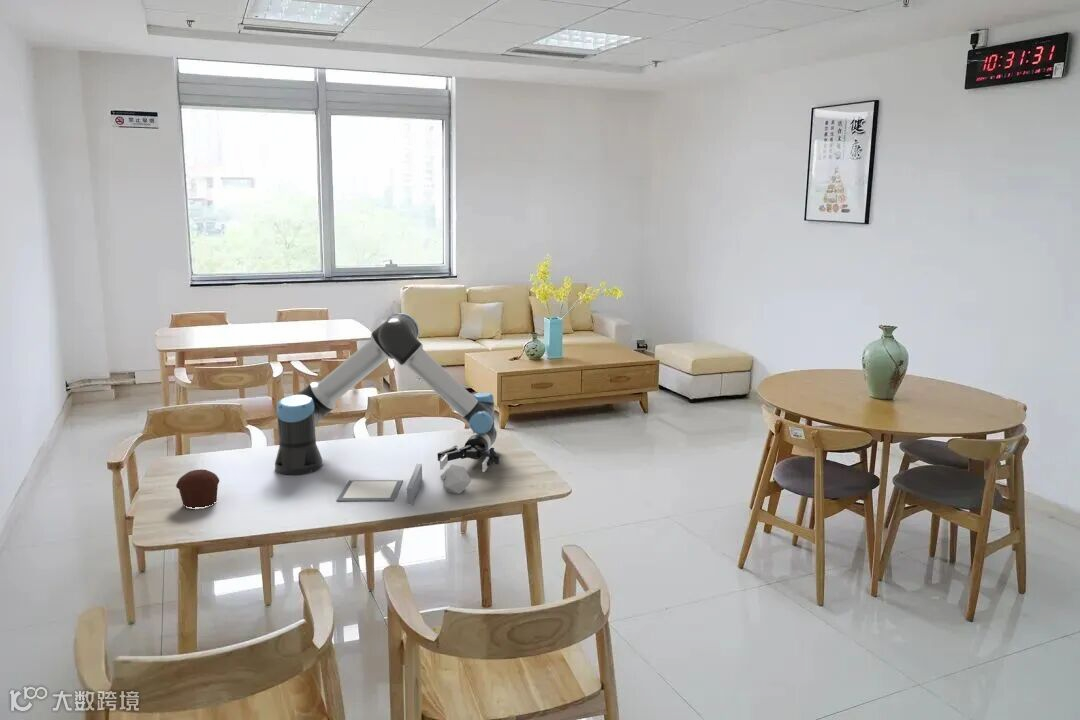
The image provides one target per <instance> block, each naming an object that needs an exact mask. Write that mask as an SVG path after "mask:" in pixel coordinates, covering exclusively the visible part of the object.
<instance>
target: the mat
mask: <svg viewBox="0 0 1080 720" xmlns="http://www.w3.org/2000/svg"><path fill="white" fill-rule="evenodd" d="M403 482H404V480H402V479H397V480H396V479H390V480H389V479H386V480H385V479H378V480H377V479H376V480H375V479H371V480H370V479H366V480H365V479H364V480H363V479H362V480H359V479H358V480H355V479H353V480H352V479H349V480H348V481H347V483H346V485H345V486H344V487H343V489H342V491H341V492H340V494H339V496H337V498H336V500H335V501H336V502H338V503H339V502H341V503H342V502H343V503H346V502H354V503H355V502H356V503H357V502H361V503H362V502H371V503H372V502H374V503H375V502H395V500H396V498H397V496H398V494H399V491H400V489H401V487H402V484H403Z"/></svg>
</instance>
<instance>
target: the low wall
mask: <svg viewBox="0 0 1080 720" xmlns="http://www.w3.org/2000/svg"><path fill="white" fill-rule="evenodd" d="M422 481H423V464H422V463H416V465H415V467H414V470H413V471H412V475H411V477H410V479H409V481H408V484H407V487H406V505H408V506H409V505H410V506H411V505H413V504H414V501H415V500H416V496H417V493H418V491H419V488H420V486H421V483H422Z"/></svg>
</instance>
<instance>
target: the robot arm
mask: <svg viewBox="0 0 1080 720" xmlns="http://www.w3.org/2000/svg"><path fill="white" fill-rule="evenodd" d="M418 337H419V327H418V323H417V322H416V320H415V318H413V317H412V316H411V315H409V314H407V313H399V312H398V313H393V314H392V315H390V316H389V317H388V318H387V319H386V320H385V321H383V323H382V324H380V325H379V326H378V327H376V329H374V330H373V331H372V332H371V333H370V340H368V341H367V342H366V343H365V344H364V345H362V346H361V347H360V348H359V349H357V350H356V351H355V352H353V353H352V354H351V355H350V356H349V357H347V359H346V360H344V361H343V362H342V363H341V364H340V365H338V366H337V367H336V368H334V369H333V370H332V371H331V372H329V373H328V374H327V375H325V377H324V378H323V379H321V380H320V381H319V382H318V381H317V382H315V381H313V382H311V383H310V384H308V385H307V386H306V387H304V389H302V390H301V391H299V392H298V393H297V394H292V395H288V396H287V397H286V396H285V397H283V398H281V399H280V400H279V401H278V402H277V405H276V416H277V417H276V418H277V431H278V433H277V434H278V445H279V446H278V451H277V454H276V457H275V458H276V459H275V461H274V466H275V467H274V470H275V472H277V473H279V474H282V475H291V476H292V475H294V476H295V475H296V476H297V475H305V474H309V473H314V472H316V471H318V470H320V469H321V468H322V467H323V458H322V455H321V451H320V450H319V447H318V445H317V440H316V439H317V438H316V437H317V436H316V425H317V424H318V423H319V422H320V421H321V420H323V418H324V417H325V416H326V415H328V414H330V413H331V412H332V410H334V409H335V408H336V402H337V401H338V400H339V399H340V398H342V397H343V396H344V395H345V394H346V393H348V392H349V391H350V390H352V388H354V387H355V386H356V385H358V383H360V382H361V381H362V380H363V379H364V378H366V377H367V376H368V375H369V374H370V373H372V372H373V371H374V370H376V369H377V368H378V367H379V366H380V365H382V364H383V363H384V362H385V361H386V360H388V359H389V360H395V361H396V362H397V363H398V364H400V365H401V366H402V367H407V368H409V370H411V371H412V372H413V373H414V374H415V375H416V376H417V377H418V379H421V380H422V381H423V383H425V385H427V387H428V388H430V389H431V390H433V392H435V394H437V396H439V397H440V398H441V399H442V400H443V401H444V402H445V403H446V404H448V405H449V407H451V409H453V410H454V412H456V413H458V415H459V416H460V417H461V418H462V419H464V420H465V422H467V423H468V425H469V427H470V429H471V431H472V435H470V437H469V438H468V439H467V441H466V442H465V443H464V446H462V447H459V446H458V445H453V446H452V447H451V448H447V449H446V450H442V451H440V452H437V461H438V462H439V470H444V468H445V467H446V466H447V465H448V464H449V463H448V462H450V461H454V460H458V459H461V460H464V459H471V460H476V461H477V460H479V461H483V462H482V463H481V464H482V465H481V468H482V471H481V472H483V473H485V471H486V470H487V469H488V467H491V466H492V465H494V464H495V465H499V464H500V456H499V454H498V453H497V452H496V450H495V448H494V447H491V446H492V445H493V444H495V442H496V439H497V435H498V433H497V428H496V427H495V401H494V394H493V393H491V392H477V393H474V394H472V393H470V392H469V390H467V388H465V387H464V386H463V385H462V384H461V383H460V382H459V381H458V380H457V379H456V378H454V376H453V375H451V374H450V373H449V372H448V371H447V370H446V369H445V368H444V367H443V366H442V365H440V364H439V363H438V362H437V360H435V359H434V358H433V357H432V356H431V355H430V354H429V353H428V352H427V351H426V350H425V349H424V348H423V344H422V342H421V341H419V340H418Z"/></svg>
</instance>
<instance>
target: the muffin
mask: <svg viewBox="0 0 1080 720" xmlns="http://www.w3.org/2000/svg"><path fill="white" fill-rule="evenodd" d="M219 483H220V478H219V476H217V474H216V473H214V472H213V471H210V470H207V469H195V470H190V471H188V472H187V473H185V474H183V475H182V476H180V478H179V479H178V480H177V483H176V485H175V488H177V489H178V490H179V495H180V498H181V501H182V505H183V504H184V505H185V506H187V507H192V508H195V507H205V506H209V505H212V504H214V502H216V501H217V498H218V486H219ZM216 503H217V502H216ZM214 505H215V504H214Z"/></svg>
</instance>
